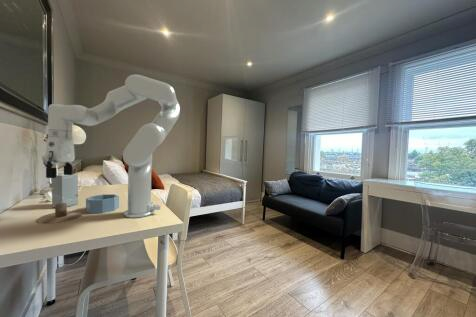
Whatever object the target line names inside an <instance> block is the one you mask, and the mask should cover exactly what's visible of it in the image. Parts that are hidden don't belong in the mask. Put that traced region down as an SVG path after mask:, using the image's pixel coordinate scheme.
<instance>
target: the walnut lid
mask: <svg viewBox="0 0 476 317" xmlns="http://www.w3.org/2000/svg"><path fill="white" fill-rule="evenodd" d="M67 208H68V207H67V203H59V204H56V205H55V207H54V212H52V213H48V214H45V215H41V216H40V217H38V218H37V222H38V223H39V224H58V223H65V222H69V221H73V220H76V219H78V218H80V217H81V216H82V212H81V211H78V210H72V211H71V210H68V209H67Z"/></svg>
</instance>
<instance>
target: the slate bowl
mask: <svg viewBox="0 0 476 317" xmlns="http://www.w3.org/2000/svg"><path fill="white" fill-rule="evenodd" d="M119 202H120V196H119V195H118V194H106V193H105V194H97V195H96V194H95V195H92V196H89V197H87V198H85V212H87V213H89V214H105V213H110V212H113V211H116V210H117V209H119V207H120V204H119Z"/></svg>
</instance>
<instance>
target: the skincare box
mask: <svg viewBox="0 0 476 317" xmlns="http://www.w3.org/2000/svg"><path fill="white" fill-rule="evenodd" d="M78 182H79V177H78V173H77V174H72V175H64V174H56V178H51V207H52V208H55V205H56V204H59V203H67V208H68V207H72V206H75V205H78V204H79V183H78Z"/></svg>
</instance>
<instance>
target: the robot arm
mask: <svg viewBox="0 0 476 317" xmlns="http://www.w3.org/2000/svg"><path fill="white" fill-rule="evenodd" d="M148 99H149V100H152V101H156V102H158V104H159V105H160V107H161V109H160V111H159V112H158V114H156V116H155V117H154V118H153V120H152V122H150V123H149V122H148V123H146V124H144V125H142V126H141V127H140V128H139V129H138V130H137V132H136V133H135V135H134V136H133V137H132V138H131V140H130V141H129V143H128V144H127V145H126V147H124V150H123V151H122V160H123V161H124V163H125V165H127V166H128V171H127V174H128V175H127V209H126V210H125V211H124V212H123V216H124V217H126V218H130V219H131V218H135V219H137V218H144V217H148V216H151V215H153V214H154V213H155V211H160V210H161V205H160V204H153V201H152V170H153V168H152V167H153V153H154V152H155V150H156V149H157V147H159V146H160V145H162V143H163V142H164V140H165V139H166V137H168V134H169V133H170V131H172V129H173V127H174V125H175V124H176V123H177V121H178V120H179V117H180V114H181V113H180V112H181V107H180V103H179V102H178V99H177V95H176V91H175V89H174V87H173V86H172V85H170V84H168V83H167V82H163V81H160V80H157V79H155V78H151V77H148V76H144V75H142V74H129V76H127V77H126V78H125V81H124V85H122V86H120V87H117V88H115V89H113V90H110V91H108V92H107V94H106V97H105V99H104V100H103V101H102V102H101V103H99V104H98V105H95V106H93V107H91V108H90V107H87V106H84V105H80V104H66V105H65V104H59V103H52V104H49V105H48V108H47V109H48V110H47V142H46V147H45V148H46V149H45V154H44V155H43V156H41V160H42V162H43V163H42V164H44V168H45V178H46V179H52V178H56V175H57V165H58V163H60V164H62V163H63V164H64V165H63V175H72V174H73V167H74V163H75V160H76V155H75V144H74V140H73V123H74V124H79V125H83V126H86V127H92V126H96V125H99V124H101V123H103V122H105V121H108V120H109V119H111V118H113V117H114V116H116V115H117V114H119V113H120V112H121V111H122V110H124V109H126V108H127V109H128V108H129V107H131V106H134V105H136V104H139V103H140V102H144V101H145V100H148Z"/></svg>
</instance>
